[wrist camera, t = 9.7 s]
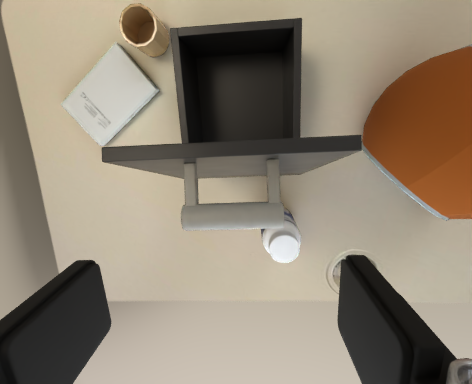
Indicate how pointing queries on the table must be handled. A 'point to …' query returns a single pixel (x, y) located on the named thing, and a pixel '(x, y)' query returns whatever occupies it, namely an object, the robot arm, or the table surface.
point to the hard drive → (109, 95)
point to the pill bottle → (283, 240)
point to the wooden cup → (144, 30)
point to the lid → (234, 173)
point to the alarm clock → (427, 134)
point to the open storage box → (238, 80)
